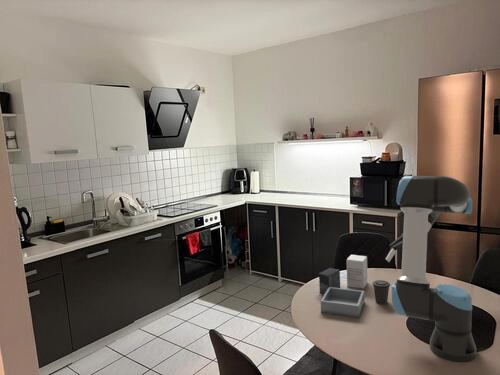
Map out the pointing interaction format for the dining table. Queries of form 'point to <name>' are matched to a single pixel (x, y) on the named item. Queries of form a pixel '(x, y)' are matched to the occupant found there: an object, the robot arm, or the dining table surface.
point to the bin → (342, 302)
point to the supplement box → (357, 271)
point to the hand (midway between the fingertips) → (397, 264)
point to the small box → (329, 279)
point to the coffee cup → (381, 291)
